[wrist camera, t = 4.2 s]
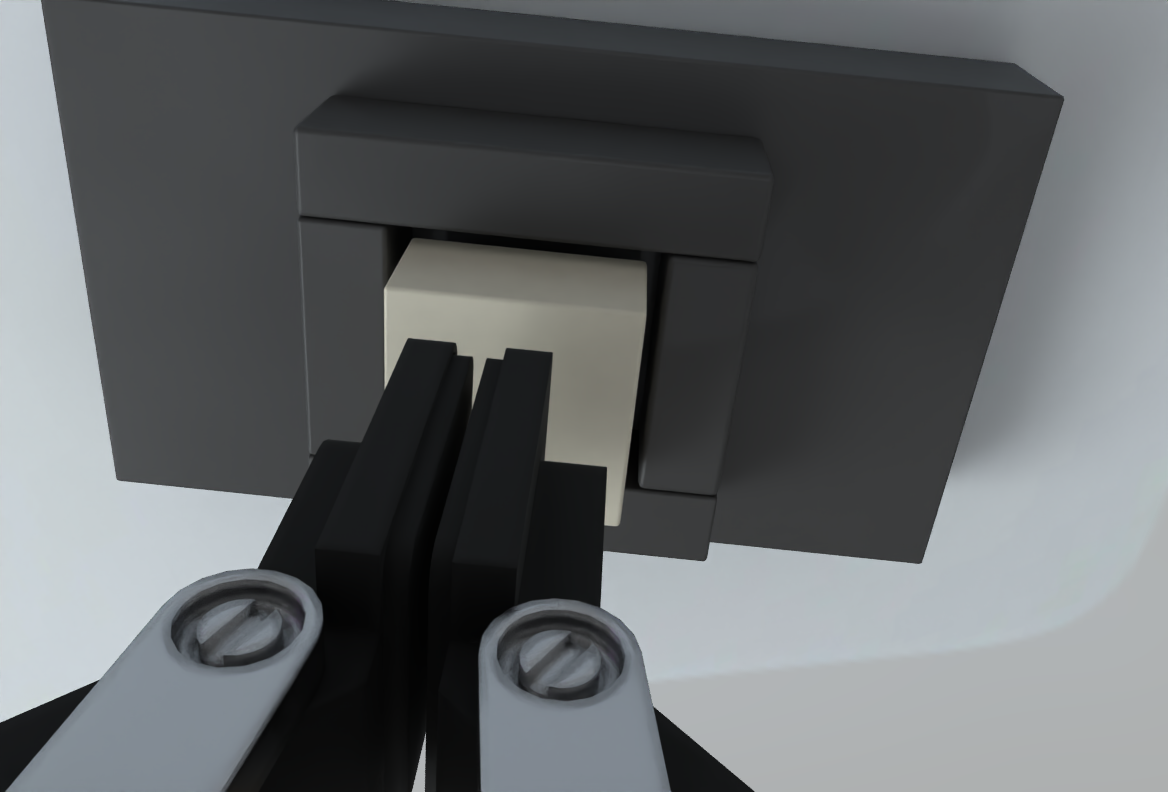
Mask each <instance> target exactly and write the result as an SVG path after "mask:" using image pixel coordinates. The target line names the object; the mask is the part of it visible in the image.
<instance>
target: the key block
mask: <svg viewBox="0 0 1168 792" xmlns="http://www.w3.org/2000/svg"><path fill="white" fill-rule="evenodd" d="M41 3H42V9H43V16H44V22H45V28H46V35H47V41H48V47H49V54H50V60H51V66H52V73H53V79H54V85H55V92H56V98H57V104H58V111H59V117H60V123H61V130H62V136H63V142H64V149H65V155H66V161H67V168H68V174H69V180H70V187H71V193H72V199H73V206H74V212H75V218H76V225H77V231H78V237H79V244H80V250H81V256H82V263H83V269H84V275H85V282H86V288H87V294H88V301H89V307H90V313H91V320H92V326H93V332H94V339H95V345H96V351H97V358H98V364H99V370H100V377H101V383H102V389H103V396H104V402H105V408H106V415H107V421H108V427H109V434H110V440H111V446H112V453H113V459H114V465H115V472H116V478H117V480H119V481H128V482H138V483H147V484H157V485H166V486H176V487H186V488H195V489H205V490H214V491H224V492H234V493H243V494H253V495H263V496H272V497H282V498H291V499H293V498H294V496H295V494H296V492H297V490H298V488H299V486H300V484H301V482H302V480H303V478H304V476H305V474H306V472H307V470H308V468H309V466H310V464H311V462H312V460H313V458H314V456H315V454H316V452H317V450H318V448H319V447H320V445H321V444H322V442H323V441H324V440H327V439H331V440H341V441H351V442H362V440H363V438H364V436H365V433H366V431H367V429H368V427H369V424H370V422H371V420H372V418H373V415H374V413H375V411H376V408H377V406H378V404H379V402H380V399H381V397H382V395H383V393H384V390H385V365H384V288H385V286H386V284H387V283H388V281H389V279H390V277H391V275H392V274H393V272H394V270H395V268H396V267H397V265H398V263H399V261H400V259H401V258H402V256H403V254H404V252H405V251H406V249H407V247H408V245H409V244H410V242H411V240H412V239H413V238H421V239H431V240H441V241H451V242H461V243H470V244H480V245H490V246H500V247H509V248H519V249H529V250H539V251H549V252H558V253H568V254H578V255H588V256H598V257H607V258H617V259H627V260H637V261H644V262H646V264H647V317H646V324H645V332H644V340H643V348H642V356H641V364H640V372H639V379H638V387H637V395H636V403H635V411H634V419H633V427H632V434H631V442H630V450H629V458H628V466H627V474H626V482H625V489H624V497H623V505H622V513H621V521H620V524H619V525H618V526H607V525H604V543H603V551H610V552H620V553H629V554H639V555H648V556H658V557H668V558H677V559H687V560H696V561H705V560H706V558H707V555H708V549H709V544H710V542H715V543H724V544H734V545H743V546H753V547H763V548H772V549H782V550H792V551H801V552H811V553H820V554H830V555H840V556H849V557H859V558H868V559H878V560H888V561H897V562H907V563H917V564H920V563H922V560H923V557H924V554H925V551H926V547H927V544H928V541H929V537H930V534H931V531H932V528H933V524H934V521H935V518H936V515H937V511H938V508H939V505H940V502H941V498H942V495H943V492H944V489H945V485H946V482H947V479H948V476H949V472H950V469H951V466H952V463H953V459H954V456H955V453H956V450H957V446H958V443H959V440H960V437H961V433H962V430H963V427H964V424H965V420H966V417H967V414H968V411H969V407H970V404H971V401H972V398H973V394H974V391H975V388H976V385H977V381H978V378H979V375H980V372H981V368H982V365H983V362H984V359H985V355H986V352H987V349H988V346H989V342H990V339H991V336H992V333H993V329H994V326H995V323H996V320H997V316H998V313H999V310H1000V307H1001V303H1002V300H1003V297H1004V294H1005V290H1006V287H1007V284H1008V281H1009V277H1010V274H1011V271H1012V268H1013V264H1014V261H1015V258H1016V255H1017V251H1018V248H1019V245H1020V242H1021V238H1022V235H1023V232H1024V229H1025V225H1026V222H1027V219H1028V216H1029V212H1030V209H1031V206H1032V203H1033V199H1034V196H1035V193H1036V190H1037V186H1038V183H1039V180H1040V177H1041V173H1042V170H1043V167H1044V164H1045V160H1046V157H1047V154H1048V151H1049V147H1050V144H1051V141H1052V138H1053V134H1054V131H1055V128H1056V125H1057V121H1058V118H1059V115H1060V111H1061V108H1062V105H1063V102H1064V97H1063V96H1062V95H1060V94H1059V93H1057V92H1056V91H1054V90H1053V89H1051V88H1050V87H1048V86H1047V85H1045V84H1044V83H1043V82H1041V81H1040V80H1038V79H1037V78H1035V77H1034V76H1032V75H1031V74H1029V73H1028V72H1026V71H1025V70H1023V69H1022V68H1021V67H1019V66H1018V65H1016V64H1014V63H1004V62H994V61H984V60H974V59H964V58H954V57H944V56H935V55H925V54H915V53H905V52H895V51H885V50H875V49H865V48H855V47H845V46H835V45H825V44H815V43H805V42H795V41H786V40H776V39H766V38H756V37H746V36H736V35H726V34H716V33H706V32H696V31H686V30H676V29H666V28H656V27H646V26H637V25H627V24H617V23H607V22H597V21H587V20H577V19H567V18H557V17H547V16H537V15H527V14H517V13H507V12H497V11H488V10H478V9H468V8H458V7H448V6H438V5H428V4H418V3H408V2H398V1H388V0H41Z"/></svg>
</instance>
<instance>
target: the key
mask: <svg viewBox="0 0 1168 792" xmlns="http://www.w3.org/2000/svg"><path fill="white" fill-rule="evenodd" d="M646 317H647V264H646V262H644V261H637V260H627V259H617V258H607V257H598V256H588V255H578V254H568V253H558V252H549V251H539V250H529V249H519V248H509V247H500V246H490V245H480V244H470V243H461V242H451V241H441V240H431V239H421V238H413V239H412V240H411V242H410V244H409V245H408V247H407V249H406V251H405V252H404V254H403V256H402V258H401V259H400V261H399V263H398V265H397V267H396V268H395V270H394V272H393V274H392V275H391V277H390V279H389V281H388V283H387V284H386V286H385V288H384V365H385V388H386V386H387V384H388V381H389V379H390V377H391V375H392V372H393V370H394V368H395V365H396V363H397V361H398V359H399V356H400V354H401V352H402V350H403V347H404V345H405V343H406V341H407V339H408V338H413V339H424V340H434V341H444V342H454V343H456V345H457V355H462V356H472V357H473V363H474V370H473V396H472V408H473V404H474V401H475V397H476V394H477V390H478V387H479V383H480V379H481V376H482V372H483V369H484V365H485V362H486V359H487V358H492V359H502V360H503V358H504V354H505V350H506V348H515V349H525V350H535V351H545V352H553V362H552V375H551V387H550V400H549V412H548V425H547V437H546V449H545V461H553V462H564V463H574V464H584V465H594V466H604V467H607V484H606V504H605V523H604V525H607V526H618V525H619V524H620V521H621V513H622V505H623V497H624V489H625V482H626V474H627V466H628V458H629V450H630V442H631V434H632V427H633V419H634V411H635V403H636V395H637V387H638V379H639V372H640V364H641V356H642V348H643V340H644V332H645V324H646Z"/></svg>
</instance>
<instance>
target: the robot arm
mask: <svg viewBox="0 0 1168 792" xmlns="http://www.w3.org/2000/svg"><path fill="white" fill-rule="evenodd" d="M552 362H553V352H545V351H535V350H525V349H515V348H506V350H505V354H504V358H503V360H502V359H492V358H487V359H486V362H485V365H484V369H483V372H482V376H481V379H480V383H479V387H478V390H477V394H476V397H475V401H474V404H473V408H472V396H473V370H474V363H473V357H472V356H462V355H457V345H456V343H454V342H444V341H434V340H424V339H413V338H408V339H407V341H406V343H405V345H404V347H403V350H402V352H401V354H400V356H399V359H398V361H397V363H396V365H395V368H394V370H393V372H392V375H391V377H390V379H389V381H388V384H387V386H386V388H385V390H384V393H383V395H382V397H381V399H380V402H379V404H378V406H377V408H376V411H375V413H374V415H373V418H372V420H371V422H370V424H369V427H368V429H367V431H366V433H365V436H364V438H363V440H362V442H351V441H341V440H331V439H327V440H324V441H323V442H322V444H321V445H320V447H319V448H318V450H317V452H316V454H315V456H314V458H313V460H312V462H311V464H310V466H309V468H308V470H307V472H306V474H305V476H304V478H303V480H302V482H301V484H300V486H299V488H298V490H297V492H296V494H295V496H294V498H293V500H292V502H291V504H290V506H289V508H288V510H287V511H286V513H285V515H284V517H283V519H282V521H281V523H280V525H279V527H278V529H277V531H276V533H275V535H274V537H273V539H272V541H271V543H270V545H269V547H268V549H267V551H266V553H265V555H264V557H263V559H262V561H261V563H260V565H259V567H258V569H242V570H233V571H225V572H222V573H219V574H215V575H212V576H208V577H205V578H202V579H200V580H198V581H196V582H194V583H192V584H190V585H189V586H187V587H185V588H183V589H181V590H180V591H178V592H177V593H176V594H175V595H174V596H173V597H172V598H170V599H169V600H168V601H167V602H166V603H165V604H164V605H163V606H162V607H161V608H160V609H159V610H158V612H157V613H156V614H155V615H154V616H153V618H152V619H151V620H150V621H149V622H148V623H147V625H146V626H145V627H144V628H143V629H142V631H141V632H140V633H139V634H138V635H137V637H136V638H135V639H134V640H133V641H132V642H131V644H130V645H129V646H128V647H127V648H126V650H125V651H124V652H123V653H122V654H121V655H120V657H119V658H118V659H117V660H116V661H115V663H114V664H113V665H112V666H111V667H110V668H109V670H108V671H107V672H106V673H105V674H104V676H103V677H102V678H101V679H100V680H98V681H96V682H93V683H91V684H89V685H86V686H84V687H82V688H79V689H77V690H75V691H73V692H70V693H68V694H66V695H63V696H61V697H59V698H56V699H54V700H52V701H49V702H47V703H45V704H43V705H40V706H38V707H36V708H33V709H31V710H29V711H26V712H24V713H22V714H19V715H17V716H15V717H13V718H10V719H8V720H6V721H3V722H1V723H0V792H412V789H413V785H414V780H415V776H416V772H417V768H418V763H419V759H420V754H421V750H422V746H423V742H424V738H425V733H426V764H425V767H426V768H425V769H426V770H425V792H754V791H753V790H752V789H751V788H750V787H748V786H747V785H746V784H745V783H744V782H742V781H741V780H740V779H739V778H738V777H737V776H735V775H734V774H733V773H732V772H731V771H729V770H728V769H727V768H726V767H725V766H723V765H722V764H721V763H720V762H718V760H716V759H715V758H714V757H713V756H712V755H710V754H709V753H708V752H707V751H706V750H704V749H703V748H702V747H701V746H700V745H698V744H697V743H696V742H695V741H694V740H693V739H691V738H690V737H689V736H688V735H687V734H685V733H684V732H683V731H682V730H680V729H679V728H678V727H677V726H676V725H675V724H673V723H672V722H671V721H670V720H669V719H668V718H666V717H665V716H664V715H663V714H662V713H660V712H659V711H658V710H657V709H656V708H654V707H653V704H652V699H651V694H650V690H649V685H648V680H647V675H646V671H645V666H644V661H643V656H642V652H641V650H640V647H639V645H638V643H637V640H636V638H635V636H634V634H633V633H632V632H631V631H630V630H629V629H628V628H627V627H626V625H625V624H624V623H623V622H622V621H621V620H620V619H618V618H617V617H615V616H613V615H612V614H610V613H608V612H607V611H605V610H603V609H602V608H600V601H601V581H602V562H603V543H604V523H605V504H606V484H607V467H604V466H594V465H584V464H574V463H564V462H553V461H545V449H546V437H547V425H548V412H549V400H550V387H551V375H552Z"/></svg>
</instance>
